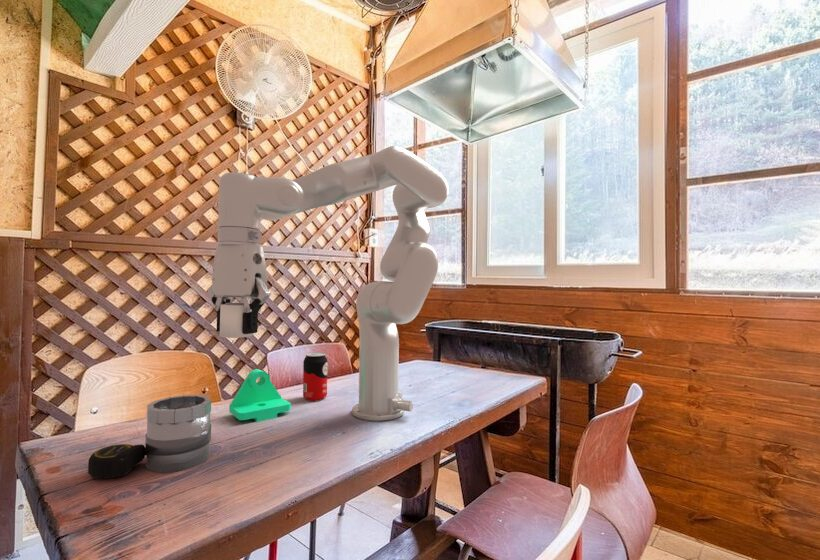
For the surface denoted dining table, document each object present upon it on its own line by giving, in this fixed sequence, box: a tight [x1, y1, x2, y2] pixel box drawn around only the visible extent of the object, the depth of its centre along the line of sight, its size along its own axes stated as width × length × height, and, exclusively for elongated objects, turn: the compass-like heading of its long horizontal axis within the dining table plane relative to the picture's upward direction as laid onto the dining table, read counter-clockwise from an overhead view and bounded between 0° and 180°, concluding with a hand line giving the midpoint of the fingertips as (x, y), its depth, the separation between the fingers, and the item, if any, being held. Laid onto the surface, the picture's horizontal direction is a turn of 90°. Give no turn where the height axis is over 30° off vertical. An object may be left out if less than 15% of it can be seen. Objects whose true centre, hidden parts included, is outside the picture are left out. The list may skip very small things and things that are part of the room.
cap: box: [219, 302, 255, 339], centre depth 78 cm, size 6×6×6 cm
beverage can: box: [302, 351, 328, 402], centre depth 109 cm, size 6×6×12 cm
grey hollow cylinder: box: [144, 394, 212, 473], centre depth 71 cm, size 10×10×10 cm
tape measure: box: [87, 443, 147, 480], centre depth 66 cm, size 7×7×4 cm
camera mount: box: [228, 368, 292, 422], centre depth 96 cm, size 12×8×10 cm, turn 131°
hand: (236, 331), depth 78 cm, fingers closed on cap, 6 cm apart
